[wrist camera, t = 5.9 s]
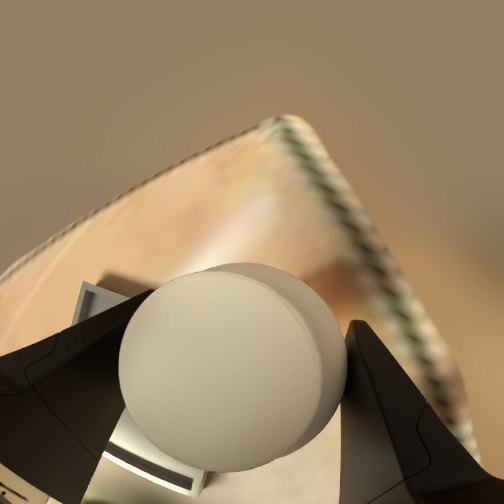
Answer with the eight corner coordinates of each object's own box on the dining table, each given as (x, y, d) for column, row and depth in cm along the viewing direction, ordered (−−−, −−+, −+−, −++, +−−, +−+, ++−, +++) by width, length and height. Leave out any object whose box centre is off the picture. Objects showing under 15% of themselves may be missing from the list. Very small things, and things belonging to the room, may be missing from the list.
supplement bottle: (211, 310, 16) (85, 251, 6) (315, 294, 15) (338, 202, 5) (224, 410, 14) (109, 488, 4) (330, 398, 13) (380, 489, 3)
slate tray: (203, 489, 17) (196, 498, 15) (68, 422, 20) (56, 425, 18) (245, 331, 20) (241, 330, 19) (95, 285, 23) (83, 280, 21)
